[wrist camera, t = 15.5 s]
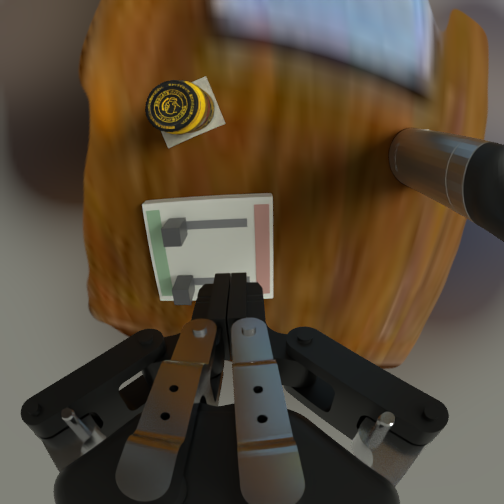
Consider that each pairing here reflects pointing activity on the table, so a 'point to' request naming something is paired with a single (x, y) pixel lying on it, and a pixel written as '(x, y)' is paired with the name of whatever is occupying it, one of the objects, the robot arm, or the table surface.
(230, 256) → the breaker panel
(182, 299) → the block
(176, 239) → the block
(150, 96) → the condiment
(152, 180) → the table surface
